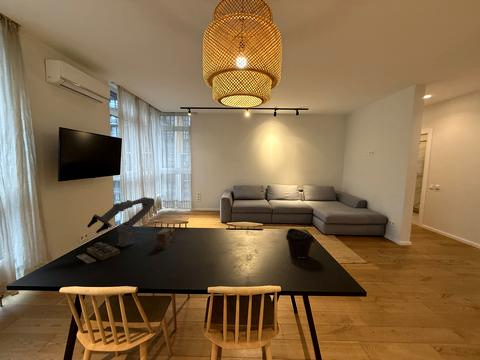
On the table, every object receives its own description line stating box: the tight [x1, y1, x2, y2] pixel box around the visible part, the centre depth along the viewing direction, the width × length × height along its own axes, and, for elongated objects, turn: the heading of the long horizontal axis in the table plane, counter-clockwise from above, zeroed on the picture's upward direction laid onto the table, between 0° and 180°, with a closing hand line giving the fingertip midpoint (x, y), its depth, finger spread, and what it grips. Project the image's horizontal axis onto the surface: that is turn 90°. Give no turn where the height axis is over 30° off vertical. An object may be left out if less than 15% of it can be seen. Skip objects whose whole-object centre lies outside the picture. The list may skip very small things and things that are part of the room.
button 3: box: [104, 245, 112, 253], centre depth 147 cm, size 4×4×3 cm
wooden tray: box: [86, 242, 120, 261], centre depth 150 cm, size 12×20×3 cm, turn 57°
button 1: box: [94, 242, 103, 249], centre depth 154 cm, size 4×4×3 cm
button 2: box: [99, 243, 107, 251], centre depth 150 cm, size 4×4×3 cm
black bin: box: [285, 228, 315, 260], centre depth 154 cm, size 18×20×18 cm
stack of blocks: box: [156, 227, 176, 250], centre depth 170 cm, size 21×6×12 cm, turn 177°
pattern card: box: [76, 253, 97, 264], centre depth 142 cm, size 5×17×1 cm, turn 57°
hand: (92, 229), depth 146 cm, fingers open, 7 cm apart
